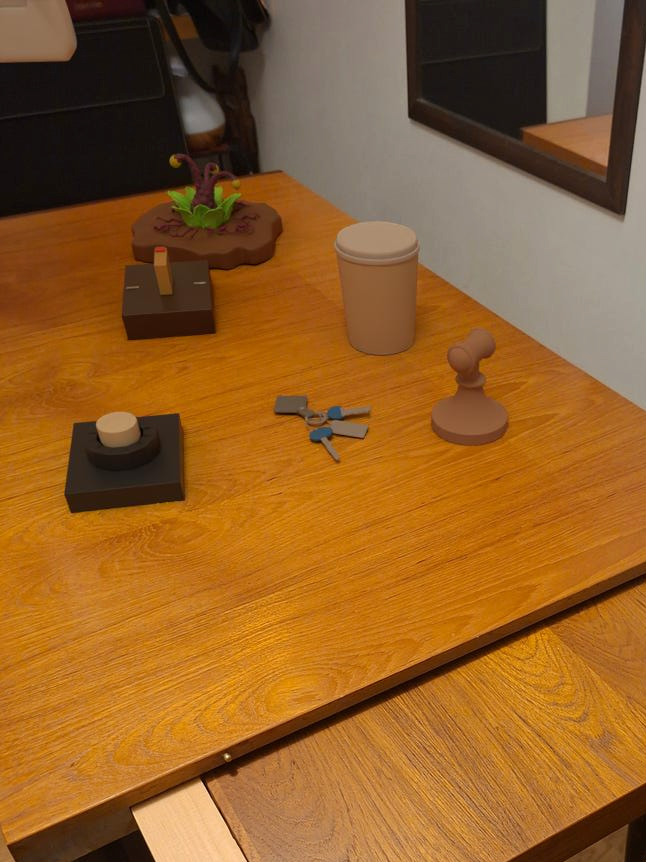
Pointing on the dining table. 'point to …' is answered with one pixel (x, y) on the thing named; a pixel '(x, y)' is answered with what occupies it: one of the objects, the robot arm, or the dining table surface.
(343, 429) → the key chain
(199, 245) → the plant
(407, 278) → the coffee cup
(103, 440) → the button
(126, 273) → the plate
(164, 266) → the lock knob
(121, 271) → the dining table surface
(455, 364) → the door knob
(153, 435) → the box
